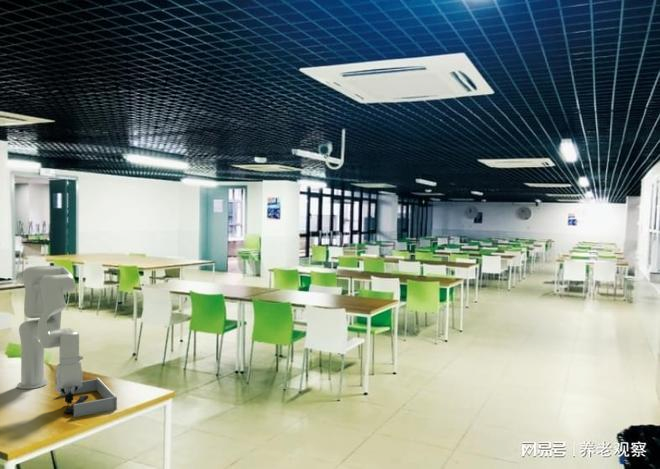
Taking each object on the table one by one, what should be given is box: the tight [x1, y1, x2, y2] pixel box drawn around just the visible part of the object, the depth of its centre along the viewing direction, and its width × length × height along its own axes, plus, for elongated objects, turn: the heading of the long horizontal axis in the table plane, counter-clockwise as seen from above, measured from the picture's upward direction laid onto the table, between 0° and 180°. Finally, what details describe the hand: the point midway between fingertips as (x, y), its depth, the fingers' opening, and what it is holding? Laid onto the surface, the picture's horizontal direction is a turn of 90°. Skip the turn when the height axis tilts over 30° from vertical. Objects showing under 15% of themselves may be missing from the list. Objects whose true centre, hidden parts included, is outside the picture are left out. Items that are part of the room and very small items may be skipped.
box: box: [59, 377, 118, 418], centre depth 222 cm, size 32×16×6 cm, turn 37°
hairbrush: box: [63, 394, 89, 414], centre depth 218 cm, size 8×4×25 cm
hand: (69, 402), depth 217 cm, fingers closed
